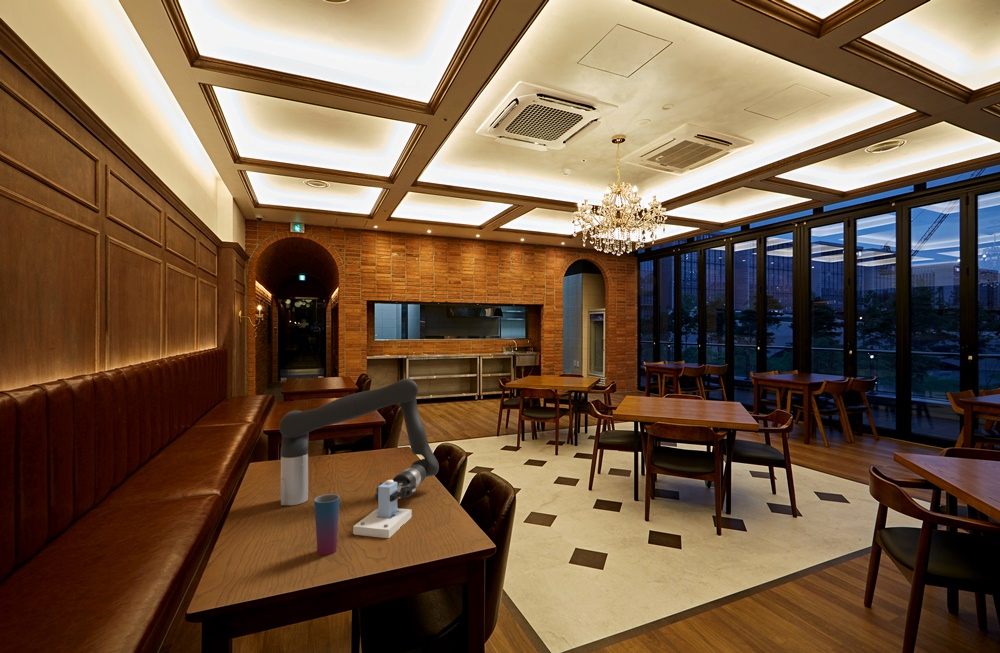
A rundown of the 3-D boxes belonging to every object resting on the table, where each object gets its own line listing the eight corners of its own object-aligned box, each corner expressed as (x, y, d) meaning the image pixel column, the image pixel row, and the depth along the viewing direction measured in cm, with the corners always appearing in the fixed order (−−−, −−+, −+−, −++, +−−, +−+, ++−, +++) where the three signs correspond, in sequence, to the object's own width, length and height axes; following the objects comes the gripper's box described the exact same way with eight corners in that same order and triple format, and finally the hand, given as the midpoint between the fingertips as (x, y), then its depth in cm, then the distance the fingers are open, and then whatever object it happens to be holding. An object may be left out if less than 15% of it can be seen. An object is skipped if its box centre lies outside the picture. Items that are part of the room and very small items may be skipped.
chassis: (388, 538, 135) (388, 528, 135) (353, 534, 137) (353, 524, 138) (411, 517, 150) (411, 508, 150) (379, 514, 153) (379, 505, 153)
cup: (324, 559, 122) (324, 504, 123) (308, 553, 126) (308, 499, 126) (344, 549, 128) (344, 496, 128) (329, 543, 132) (329, 492, 132)
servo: (393, 525, 143) (393, 485, 144) (374, 523, 145) (374, 483, 145) (401, 518, 149) (400, 479, 149) (383, 517, 150) (382, 478, 151)
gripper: (388, 469, 163) (363, 484, 146) (425, 471, 159) (404, 488, 143) (388, 490, 162) (363, 508, 146) (425, 493, 159) (404, 511, 142)
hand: (383, 498), depth 144 cm, fingers open, 4 cm apart
